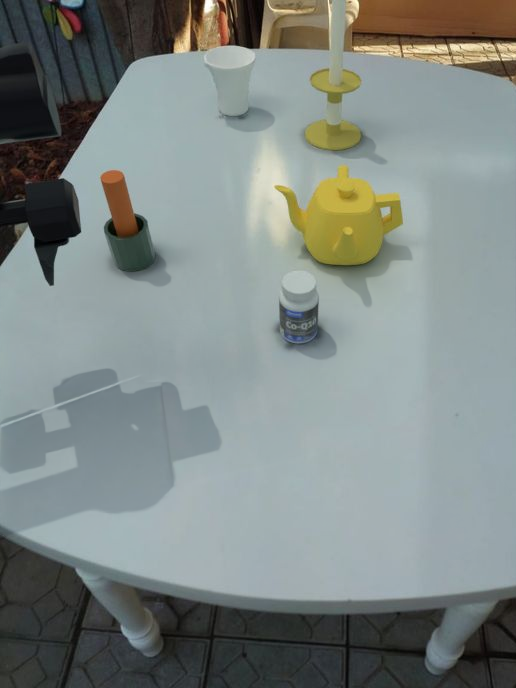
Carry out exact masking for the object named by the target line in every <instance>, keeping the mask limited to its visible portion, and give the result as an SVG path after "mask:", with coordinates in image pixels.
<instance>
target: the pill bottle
mask: <svg viewBox="0 0 516 688" xmlns="http://www.w3.org/2000/svg"><path fill="white" fill-rule="evenodd" d="M319 307H320V295H319V291H318V289H317V279H316V277H315V276H314V275H313V274H312V273H310V272H308V271H306V270H293V271H289V272H287V273H286V274H285V275H283V278H282V280H281V289H280V291H279V294H278V309H279V311H278V313H279V317H278V318H279V332H280V335H281V337H282V338H283V339H284V340H286V341H287V342H289V343H292V344H305V343H308V342H311V341H312V340H313V339H314V338H315V337H316V336H317V333H318V328H319V324H318V323H319V309H320V308H319Z"/></svg>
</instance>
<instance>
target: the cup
mask: <svg viewBox="0 0 516 688" xmlns="http://www.w3.org/2000/svg"><path fill="white" fill-rule="evenodd" d="M256 61H257V57H256V52H254V51H252V50H251V49H250V48H248V47H244V46H239V45H222V46H217V47H213V48H211V49H210V50H208V51H207V52H205V54H204V55H203V66H204V67H205V68H207V69H208V71H209V73H210V75H211V77H212V80H213V83H214V86H215V89H216V95H217V104H218V105H217V106H218V110H219V112H220V113H221V114H222V115H224V116H227V117H238V116H242V115H244V114H246V113H247V112H248V111H249V108H250V107H249V106H250V105H249V89H250V88H249V86H250V82H251V74H252V71H253V69H254V67H255V63H256ZM247 106H248V107H247Z"/></svg>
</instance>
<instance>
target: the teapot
mask: <svg viewBox="0 0 516 688" xmlns="http://www.w3.org/2000/svg"><path fill="white" fill-rule="evenodd" d="M274 189H275V190H276V191H278V192H279V193H281V194H282V195H283V196H284V198H285V200H286V203H287V207H288V208H287V210H288V216H289V220H290V222H291V224H292V226H293V227H294V229H296V230H297V231H298V232H299V233H301V234H302V237H303V241H304V244H305V246H306V248H307V250H308V252H309V253H310V254H311V256H312V258H314V259H315V260H316V261H317V262H319V263H321V264H325V265H333V266H357V265H358V266H359V265H363V264H366V263H368V262H370V261H371V260H373V259H374V258H375V257H376V256H377V254H378V253H379V252H380V249H381V247H382V245H383V241H384V236H385V235H387V234H388V233H390V232H392V231H394V230H395V229H397V228H400V227H401V226H402V225H404V220H403V211H402V204H401V198H400V194H399V192H392V193H391V192H390V193H380V194H375V192H374V190H373V188H372V186H371V184H370V183H369V182H368V181H366V180H365V179H362V178H357V177H350V173H349V167H348V166H347V165H345V164H340V165H339V166H338V167H337V176H336V177H329V178H325V179H323V180H321V181H320V182H319V183H318V185H317V187H316V188H315V190H314V192H313V193H312V195H311V197H310V200H309V202H308V204H307V207H306V209H305V210H303V209H302V208H301V207H300V205H299V204H298V199H297V196H296V193H295V191H293V190H292V189H291V188H290V187H287V186H284V185H280V184H277V185H276V184H275V185H274ZM388 207H389V213H388V214H386V215H384V216H383V214H382V210H381V209H384V208H388Z"/></svg>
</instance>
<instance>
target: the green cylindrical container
mask: <svg viewBox="0 0 516 688" xmlns="http://www.w3.org/2000/svg"><path fill="white" fill-rule="evenodd" d="M134 215H135V219H136V223H137V227H138V231H139V233H138V234H135V235H133V236H130V237H118V236H117V233H116V229H115V226H114V223H113V219H112V217H110V218H109V219H108V220H106V221H105V223H104V225H103V232H104V236H105V239H106V243H107V246H108V248H109V252H110V255H111V258H112V261H113V263H114V265H115V266H116V268H118V269H119V270H122V271H124V272H139V271H141V270H145V269H146V268H148V267H149V266H151V265H152V264H153V263H154V261H155V259H156V252H155V248H154V244H153V240H152V235H151V231H150V227H149V223H148V220H147V219H146V217H144V216H143V215H141V214H139V213H136V212H134Z"/></svg>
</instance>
